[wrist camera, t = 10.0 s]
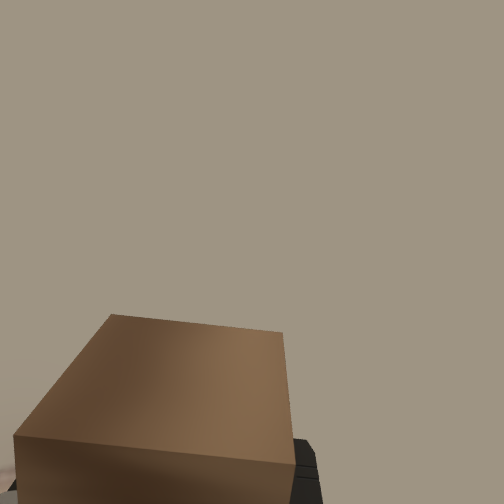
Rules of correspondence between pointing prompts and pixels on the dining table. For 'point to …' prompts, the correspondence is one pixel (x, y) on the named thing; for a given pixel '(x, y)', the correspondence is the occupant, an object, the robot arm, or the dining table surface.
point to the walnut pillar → (163, 420)
